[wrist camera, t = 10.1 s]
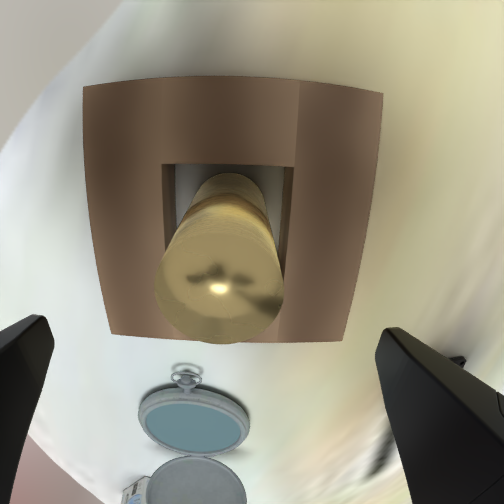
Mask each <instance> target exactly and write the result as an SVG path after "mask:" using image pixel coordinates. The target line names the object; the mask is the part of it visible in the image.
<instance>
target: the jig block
mask: <svg viewBox="0 0 504 504" xmlns="http://www.w3.org/2000/svg"><path fill="white" fill-rule="evenodd" d="M382 106H383V93H379V92H374V91H369V90H364V89H358V88H353V87H346V86H340V85H333V84H326V83H319V82H310V81H301V80H291V79H280V78H265V77H244V76H185V77H165V78H150V79H139V80H129V81H120V82H112V83H105V84H98V85H91V86H85V87H83V148H84V166H85V180H86V191H87V201H88V210H89V218H90V226H91V233H92V240H93V247H94V253H95V259H96V265H97V270H98V276H99V281H100V286H101V291H102V295H103V300H104V305H105V309H106V313H107V318H108V322H109V326H110V330H111V334H116V335H126V336H136V337H148V338H161V339H175V340H192V341H198V340H195V339H193V338H190V337H188V336H187V335H185V334H183V333H181V332H180V331H179V330H177V329H176V328H175V327H174V326H172V325H171V324H170V323H169V322H168V320H167V319H166V318H165V317H164V315H163V314H162V312H161V310H160V308H159V306H158V304H157V301H156V298H155V292H154V281H155V275H156V271H157V269H158V266H159V264H160V262H161V260H162V258H163V256H164V254H165V252H166V250H167V248H168V246H169V244H170V242H171V240H172V238H173V236H174V234H175V232H176V209H175V164H243V165H267V166H285V173H284V186H283V200H282V213H281V225H280V237H279V249H278V261H279V265H280V269H281V274H282V278H283V283H284V299H283V304H282V306H281V309H280V311H279V313H278V315H277V317H276V318H275V320H274V321H273V322H272V323H271V324H270V326H269V327H268V328H266V329H265V330H264V331H263V332H261V333H260V334H258V335H256V336H255V337H252V338H250V339H248V340H245V341H242V342H251V343H296V342H333V341H342V339H343V336H344V332H345V328H346V324H347V320H348V316H349V312H350V308H351V304H352V300H353V295H354V291H355V286H356V282H357V277H358V273H359V268H360V263H361V258H362V253H363V248H364V243H365V237H366V232H367V226H368V220H369V214H370V208H371V202H372V195H373V189H374V181H375V174H376V166H377V158H378V149H379V140H380V130H381V119H382Z"/></svg>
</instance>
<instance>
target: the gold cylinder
mask: <svg viewBox="0 0 504 504" xmlns="http://www.w3.org/2000/svg"><path fill="white" fill-rule="evenodd" d="M154 292H155V298H156V301H157V304H158V306H159V308H160V310H161V312H162V314H163V315H164V317H165V318H166V319H167V320H168V322H169V323H170V324H171V325H172V326H174V327H175V328H176V329H177V330H179V331H180V332H181V333H183V334H185V335H187V336H188V337H190V338H193V339H195V340H198V341H202V342H206V343H211V344H232V343H238V342H242V341H245V340H248V339H250V338H252V337H255V336H256V335H258V334H260V333H261V332H263V331H264V330H265V329H266V328H268V327H269V326H270V324H271V323H272V322H273V321H274V320H275V318H276V317H277V315H278V313H279V311H280V309H281V306H282V304H283V299H284V283H283V278H282V274H281V269H280V265H279V261H278V256H277V252H276V248H275V243H274V239H273V235H272V231H271V227H270V222H269V218H268V214H267V210H266V206H265V202H264V198H263V195H262V193H261V191H260V189H259V188H258V186H257V185H256V184H255V183H254V182H253V181H251V180H250V179H249V178H247V177H245V176H243V175H240V174H236V173H223V174H218V175H215V176H213V177H211V178H210V179H208V180H207V181H205V182H204V183H203V184H202V185H201V187H200V188H199V190H198V191H197V193H196V195H195V197H194V199H193V200H192V202H191V204H190V206H189V208H188V210H187V212H186V213H185V215H184V217H183V219H182V221H181V223H180V225H179V227H178V229H177V230H176V232H175V234H174V236H173V238H172V240H171V242H170V244H169V246H168V248H167V250H166V252H165V254H164V256H163V258H162V260H161V262H160V264H159V266H158V269H157V271H156V275H155V281H154Z"/></svg>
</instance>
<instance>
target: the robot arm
mask: <svg viewBox="0 0 504 504" xmlns="http://www.w3.org/2000/svg"><path fill="white" fill-rule="evenodd" d="M53 350H54V338H53V335H52V332H51V329H50V327H49V324H48V321H47V319H46V317H44V316H42V315H36V314H32V315H30V316H28V317H26V318H24V319H22V320H20V321H19V322H17V323H15V324H13V325H11V326H9V327H7V328H6V329H4V330H2V331H0V504H9V503H10V498H11V493H12V489H13V484H14V480H15V476H16V472H17V468H18V464H19V460H20V456H21V453H22V449H23V446H24V442H25V439H26V436H27V433H28V430H29V427H30V424H31V421H32V418H33V415H34V412H35V409H36V406H37V403H38V400H39V398H40V395H41V392H42V388H43V385H44V381H45V377H46V374H47V370H48V366H49V363H50V360H51V356H52V353H53ZM375 361H376V366H377V370H378V375H379V379H380V384H381V389H382V394H383V399H384V404H385V408H386V411H387V415H388V418H389V421H390V424H391V427H392V431H393V434H394V437H395V441H396V444H397V448H398V451H399V454H400V458H401V462H402V465H403V469H404V472H405V476H406V480H407V484H408V488H409V491H410V495H411V499H412V504H504V395H502V394H501V393H499V392H496V390H494V389H493V388H491V387H490V386H488V385H487V384H485V383H484V382H482V381H481V380H479V379H478V378H476V377H475V376H473V375H472V374H470V373H469V372H467V371H466V370H464V369H463V367H464V365H465V363H466V359H465V358H464V357H458V358H452V359H447V358H446V357H444V356H443V355H441V354H440V353H438V352H437V351H435V350H433V349H432V348H430V347H429V346H427V345H426V344H424V343H423V342H421V341H420V340H418V339H416V338H415V337H413V336H412V335H410V334H409V333H407V332H406V331H404V330H402V329H401V328H399V327H393V328H386V329H384V330H383V332H382V334H381V337H380V340H379V343H378V346H377V349H376V352H375Z"/></svg>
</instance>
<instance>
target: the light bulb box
mask: <svg viewBox="0 0 504 504" xmlns="http://www.w3.org/2000/svg"><path fill="white" fill-rule="evenodd" d="M149 480H150V478H148V477H144V478H142V479H141V480H139V481H138V482H136V483H135V484H133V485H131V486H130V487H128V488H127V489H125V490H124V491H123V496H122V501H121V504H146V488H147V485H148V482H149Z"/></svg>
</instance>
